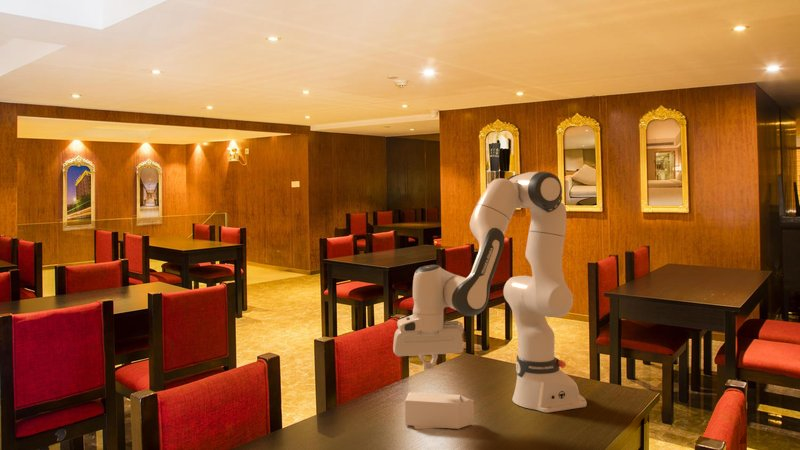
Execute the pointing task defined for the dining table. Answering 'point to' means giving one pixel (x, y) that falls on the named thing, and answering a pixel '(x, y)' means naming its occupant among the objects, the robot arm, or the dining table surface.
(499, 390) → the dining table surface
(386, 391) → the dining table surface
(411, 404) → the milk carton
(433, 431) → the dining table surface
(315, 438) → the dining table surface
